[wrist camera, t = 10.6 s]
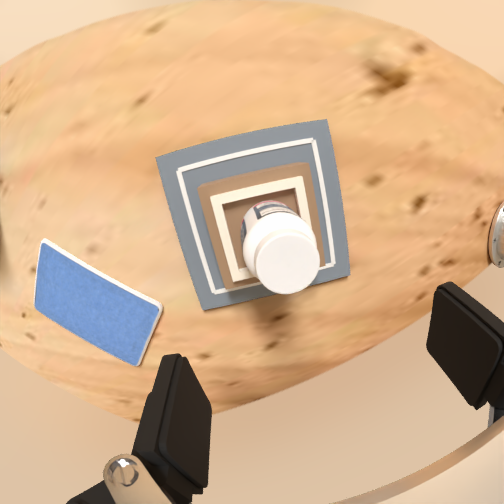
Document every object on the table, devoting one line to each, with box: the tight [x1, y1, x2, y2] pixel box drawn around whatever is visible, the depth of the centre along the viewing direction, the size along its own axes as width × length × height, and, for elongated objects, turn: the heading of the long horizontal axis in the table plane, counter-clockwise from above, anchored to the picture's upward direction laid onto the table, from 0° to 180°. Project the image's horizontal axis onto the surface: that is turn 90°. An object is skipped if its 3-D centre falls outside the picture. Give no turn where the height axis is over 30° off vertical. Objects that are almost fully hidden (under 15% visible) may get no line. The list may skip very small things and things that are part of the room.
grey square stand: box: [156, 119, 350, 310], centre depth 27 cm, size 18×18×6 cm
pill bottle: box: [240, 201, 320, 294], centre depth 21 cm, size 5×5×9 cm
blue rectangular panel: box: [34, 238, 163, 366], centre depth 32 cm, size 19×13×1 cm, turn 61°
